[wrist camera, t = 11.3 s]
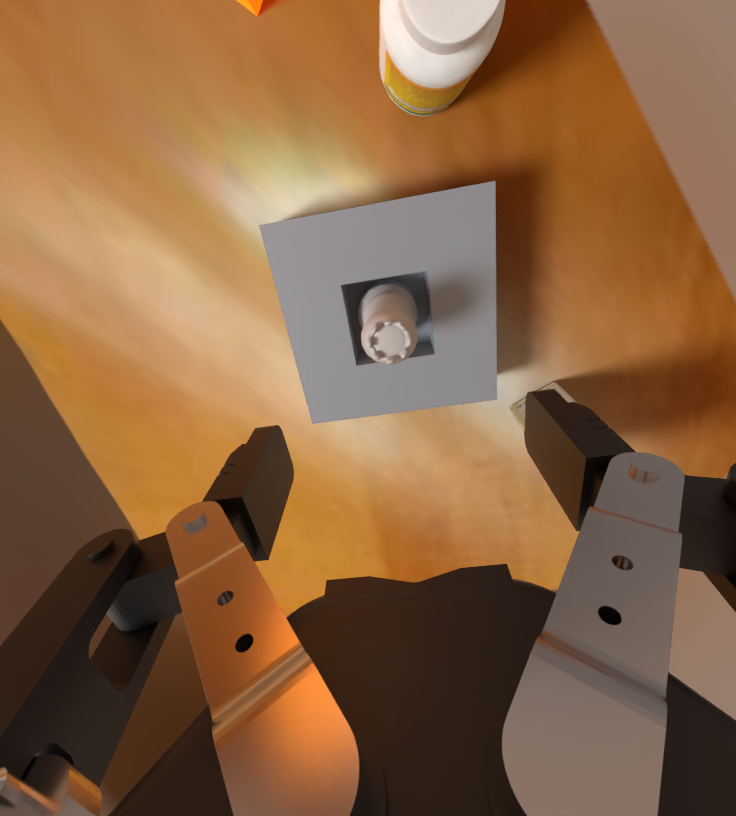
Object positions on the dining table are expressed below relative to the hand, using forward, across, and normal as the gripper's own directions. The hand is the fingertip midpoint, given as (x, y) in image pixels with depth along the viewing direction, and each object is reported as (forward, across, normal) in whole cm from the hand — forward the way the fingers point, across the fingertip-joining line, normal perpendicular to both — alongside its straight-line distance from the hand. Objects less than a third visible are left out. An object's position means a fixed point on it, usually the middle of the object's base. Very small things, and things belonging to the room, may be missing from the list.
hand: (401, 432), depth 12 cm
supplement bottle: (+19, -4, -14) cm, 23 cm away
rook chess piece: (+18, 0, 0) cm, 18 cm away
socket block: (+18, 0, 0) cm, 18 cm away
